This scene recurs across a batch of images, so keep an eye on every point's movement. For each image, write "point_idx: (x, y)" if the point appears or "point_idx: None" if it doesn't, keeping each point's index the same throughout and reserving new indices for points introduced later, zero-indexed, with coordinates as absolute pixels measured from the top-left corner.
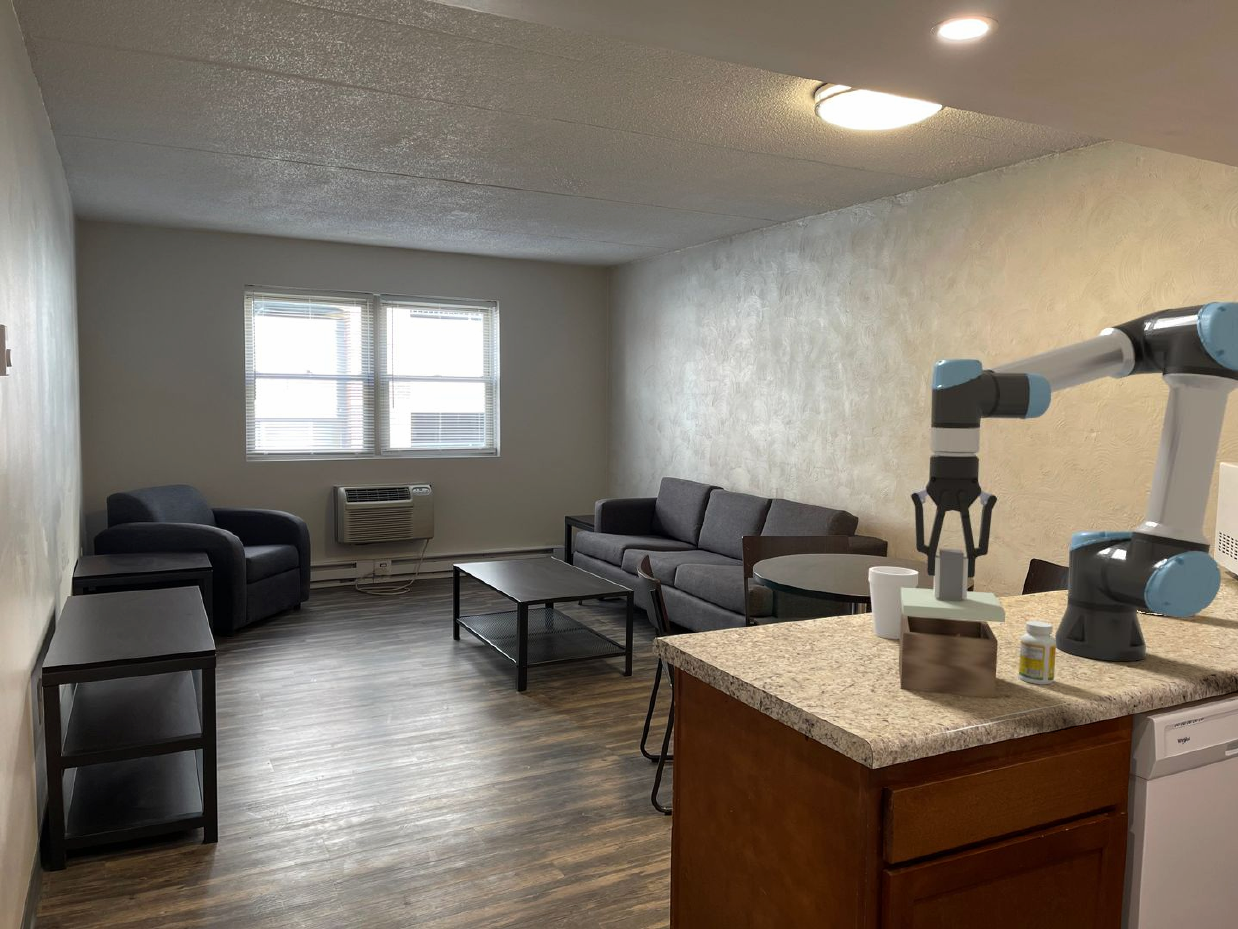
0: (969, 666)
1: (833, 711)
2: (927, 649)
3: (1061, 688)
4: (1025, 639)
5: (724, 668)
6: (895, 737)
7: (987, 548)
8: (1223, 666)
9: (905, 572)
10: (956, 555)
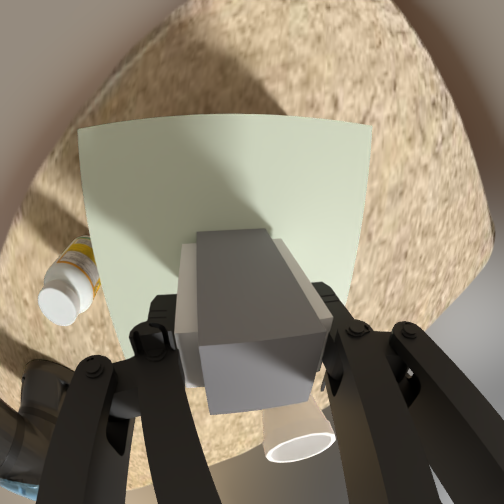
0: None
1: (378, 15)
2: None
3: (59, 229)
4: (82, 278)
5: (472, 164)
6: None
7: (73, 383)
8: None
9: (280, 456)
10: (237, 331)
